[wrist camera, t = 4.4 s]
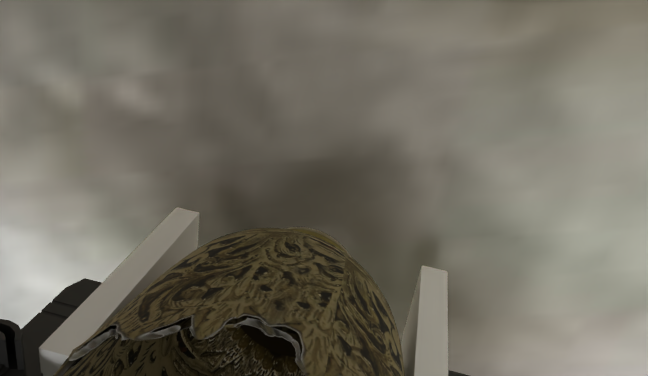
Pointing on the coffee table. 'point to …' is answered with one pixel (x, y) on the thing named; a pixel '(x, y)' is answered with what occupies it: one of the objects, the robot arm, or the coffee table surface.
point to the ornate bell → (251, 315)
